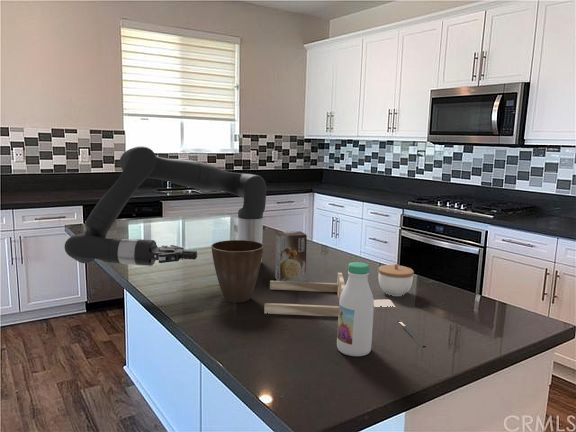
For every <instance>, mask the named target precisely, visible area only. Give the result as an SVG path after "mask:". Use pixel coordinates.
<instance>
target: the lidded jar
mask: <svg viewBox="0 0 576 432" xmlns="http://www.w3.org/2000/svg"><path fill="white" fill-rule="evenodd" d="M377 269H378V270H377V271H378V284H379V287H380V289H382V291H383V292H385V293H386V294H385V293H384V294H385V295H387V294H388V295H387V296H390V295H392V296H391V297H403V296H405V294H406V293H408V291H409V290H410V289H411V288H412V284H413V280H414V274H415V271H414V270H413V269H412V268H411V267H407V266H404V265H399V264H398V263H394V264H384V265H380V266H379V267H378V268H377ZM402 295H403V296H402Z"/></svg>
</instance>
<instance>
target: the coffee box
mask: <svg viewBox="0 0 576 432" xmlns="http://www.w3.org/2000/svg"><path fill="white" fill-rule="evenodd" d="M307 239H308V237H307V234H306V233H304V232H302V231H275V266H274V267H275V272H274V273H275V274H274V275H275V277H274V278H275V279H276V281H295V282H307V281H306V280H307V248H308V247H307V245H308V244H307V243H308V242H307Z"/></svg>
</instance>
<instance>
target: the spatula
mask: <svg viewBox="0 0 576 432" xmlns="http://www.w3.org/2000/svg"><path fill="white" fill-rule="evenodd" d="M373 300H374V308H375V307H380V306H382V307H387V306H388V307H390V306H391V307H392V306H393V307H396V306H395V304H394V303H393V301H392V300H391V299H388V298H387V299H373ZM398 323H399V324H400V325H401V326H402V328H403V329H404V330H405V331H406V332H407V334H408V333H409V334H410V335H411V336H412V337H413V338H414V339H416V340H417V341H418V342H420V343H421V344H422V342H423V341H422V340H421V339H420V338H419V337H418V335H417V334H416V333H415V332H414V331H413V330H412V329H411V327H409V326H408V325H406V324H404V323H403V322H402V321H401V322H398ZM409 334H408V335H409ZM410 335H409V336H410ZM411 336H410V337H411ZM412 337H411V338H412ZM413 338H412V339H413ZM414 339H413V340H414ZM421 341H422V342H421ZM422 345H423V344H422Z"/></svg>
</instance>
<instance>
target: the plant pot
mask: <svg viewBox="0 0 576 432" xmlns="http://www.w3.org/2000/svg"><path fill="white" fill-rule="evenodd" d="M210 245H211V247H210V248H211V253H212V254H211V255H212V260H213V265H214V271H215V274H216V279H217V281H218V282H217V283H218V284H219V288H220V290H221V294H222V296H223V298H224V300H225V301H227V302H228V303H237V304H238V303H245V302H248V301H249V300H251V298H252V297H251V296H252V295H253V291H254V289H255V286H256V283H257V280H258V276H259V273H260V268H261V264H262V262H261V259H262V258H263V254H264V253H263V252H264V244H263V243H262V244H261V243H259V242H255V241H248V240H238V239H231V240H229V239H228V240H221V241H217V242H213V243H212V244H210Z"/></svg>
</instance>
